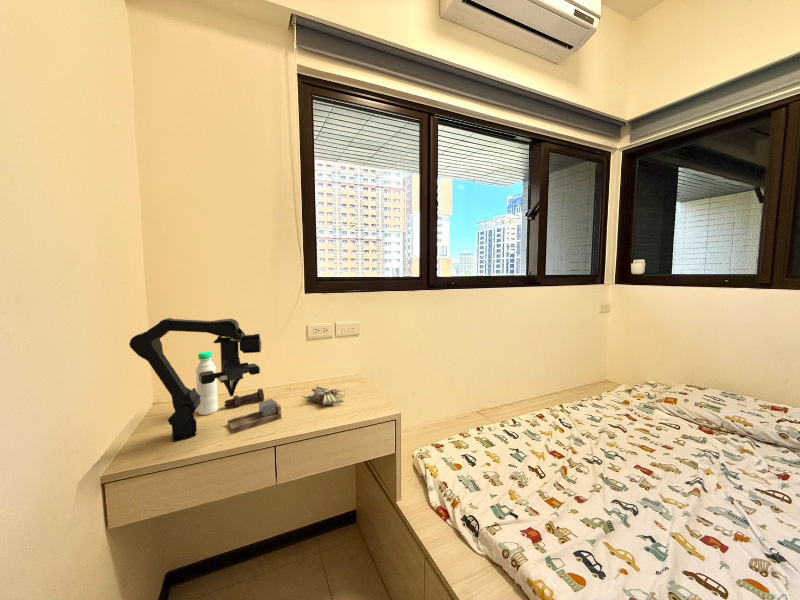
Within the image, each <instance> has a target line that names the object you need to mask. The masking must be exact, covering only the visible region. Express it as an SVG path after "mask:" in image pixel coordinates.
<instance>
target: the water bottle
mask: <svg viewBox="0 0 800 600" xmlns="http://www.w3.org/2000/svg"><path fill="white" fill-rule="evenodd" d="M197 355H198V356H197V357H198V360H199V363H198V365H197V367H196V370H195V374H196V391H197V393H198V394H199V395H200V396H201V397H200V400H201V402H200V405H199V407H198V408H197V410H198V411H197V412H198V414H199V415H201V416H208V415H212V414H214V413H216V412H217V411H218V410H219V402H218V401H219V400H218V399H219V397H218V381H217V380H218V378H215V381H214V382H213V383H208V384H201V383H200V381H199V374H200V373H201V372H207V371H213V373H217V372H216V371H217V366H215V364H214V362H213V361H212V358H213V353H212V351H202V352H199V353H198V354H197Z"/></svg>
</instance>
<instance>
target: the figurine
mask: <svg viewBox="0 0 800 600" xmlns="http://www.w3.org/2000/svg"><path fill="white" fill-rule="evenodd" d="M346 390H347V389H340V390H339V389H337V388H331V389H328V388H325V387H321V386H319V385H316V387H312V388H311V391H312V393H313V394H311V395H308V396H302V395H301V396H300V397H301V398H304V399H307V400H308V401H312V402H315V403H319V404H322V405H323V406H331V405H337V404H341V403H345V401H344V400H342V399H340V398H338V397H337V396H341V397H342V396H343V397H344V396H345V394H340V393H341V392H343V393H345V391H346Z"/></svg>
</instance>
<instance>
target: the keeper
mask: <svg viewBox="0 0 800 600" xmlns="http://www.w3.org/2000/svg"><path fill="white" fill-rule="evenodd" d="M276 402H277V401H276ZM276 402H275V399H273V398H269V399H266V400H264V401H262V402H260V401H259V402H258V411H259V415H260V416H261V417H262V418H264V417H268V416H271V415H274V414H276Z"/></svg>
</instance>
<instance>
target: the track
mask: <svg viewBox="0 0 800 600" xmlns="http://www.w3.org/2000/svg"><path fill="white" fill-rule="evenodd" d="M274 401H275V400H274ZM275 402H276V414H274V415H271V416H268V417H264V418H262V417H261V416H260V415H259V410H258V411H255V412H250V413H248V414H245V415H240V416H238V417H235V418H234V417H233V418H230V419H227V425H228V428H229V429H230V431H231V432H232V434H236V433H240V432H243V431H245V430H249V429H253V428H255V427H258V426H262V425H266V424H268V423H271V422H274V421H279V420H282V406H281V405H280V404H279V403H278V402H277V401H275Z"/></svg>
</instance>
